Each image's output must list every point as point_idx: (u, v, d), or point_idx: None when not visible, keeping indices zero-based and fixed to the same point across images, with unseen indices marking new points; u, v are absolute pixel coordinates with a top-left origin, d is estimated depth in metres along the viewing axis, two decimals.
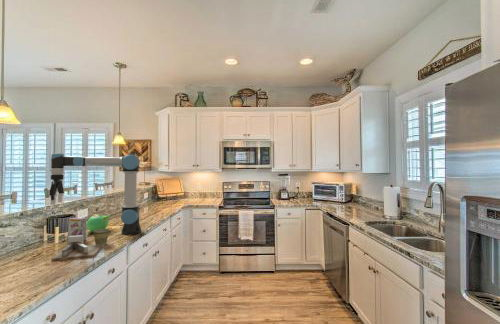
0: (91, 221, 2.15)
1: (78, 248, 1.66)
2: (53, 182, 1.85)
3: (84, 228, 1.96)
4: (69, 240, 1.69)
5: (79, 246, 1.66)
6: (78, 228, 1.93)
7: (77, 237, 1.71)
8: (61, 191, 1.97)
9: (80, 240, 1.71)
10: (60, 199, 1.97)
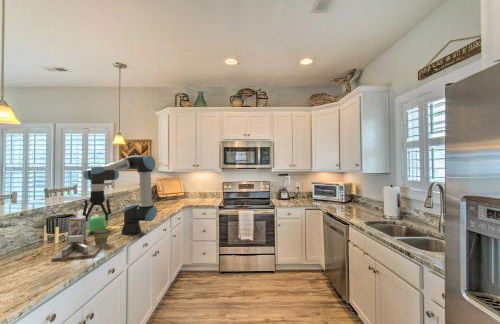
0: (91, 221, 2.15)
1: (78, 248, 1.66)
2: None
3: (84, 228, 1.96)
4: (69, 240, 1.69)
5: (79, 246, 1.66)
6: (78, 228, 1.93)
7: (77, 237, 1.71)
8: (104, 212, 1.67)
9: (80, 240, 1.71)
10: None
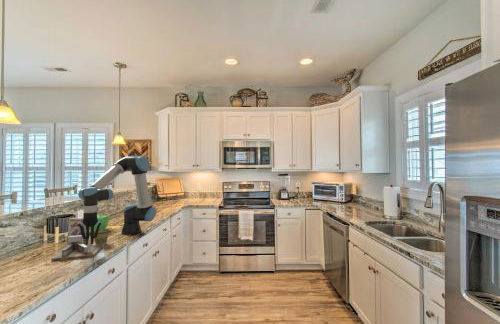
0: None
1: (78, 248, 1.66)
2: None
3: (84, 228, 1.96)
4: (69, 240, 1.69)
5: (79, 246, 1.66)
6: (78, 228, 1.93)
7: (77, 237, 1.71)
8: None
9: (80, 240, 1.71)
10: None
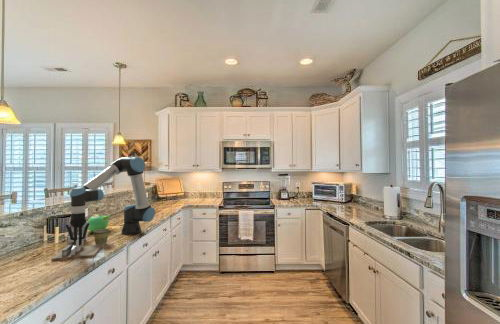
0: (91, 221, 2.15)
1: None
2: None
3: (84, 228, 1.96)
4: (69, 240, 1.69)
5: None
6: (78, 228, 1.93)
7: (77, 237, 1.71)
8: None
9: None
10: None
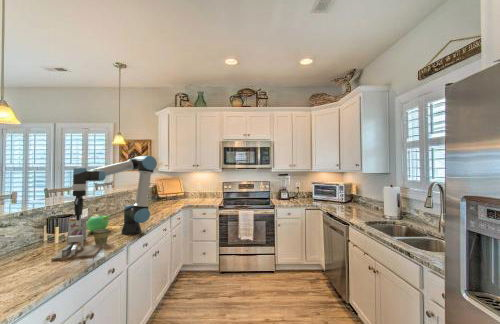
0: (91, 221, 2.15)
1: None
2: (76, 203, 1.73)
3: (84, 228, 1.96)
4: (69, 240, 1.69)
5: None
6: (78, 228, 1.93)
7: (77, 237, 1.71)
8: (80, 211, 1.79)
9: (80, 240, 1.71)
10: None
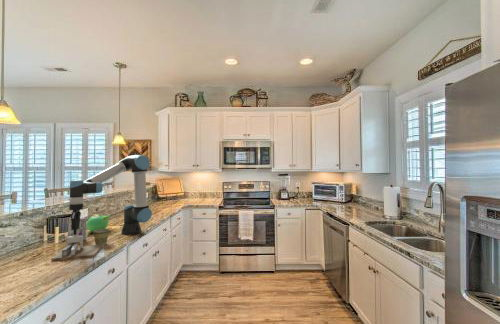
0: (91, 221, 2.15)
1: None
2: (73, 217, 1.67)
3: (84, 228, 1.96)
4: (68, 240, 1.68)
5: None
6: None
7: (76, 237, 1.70)
8: None
9: (80, 241, 1.70)
10: None
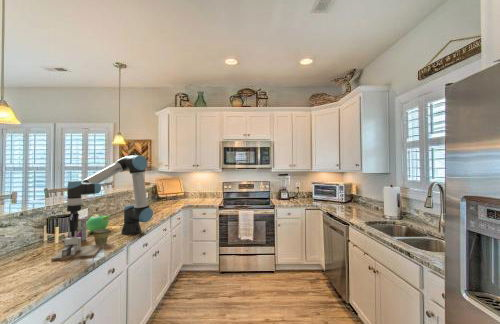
0: (91, 221, 2.15)
1: None
2: (70, 218, 1.63)
3: (84, 228, 1.96)
4: (66, 242, 1.64)
5: None
6: (78, 228, 1.93)
7: (74, 239, 1.65)
8: None
9: (78, 243, 1.66)
10: None
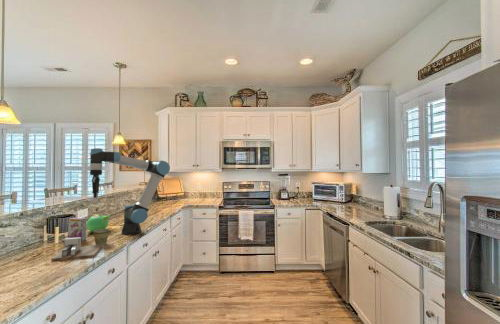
0: (91, 221, 2.15)
1: None
2: (93, 181, 1.84)
3: (84, 228, 1.96)
4: (66, 242, 1.64)
5: None
6: (78, 228, 1.93)
7: (74, 239, 1.65)
8: (97, 189, 1.91)
9: (78, 243, 1.66)
10: None
